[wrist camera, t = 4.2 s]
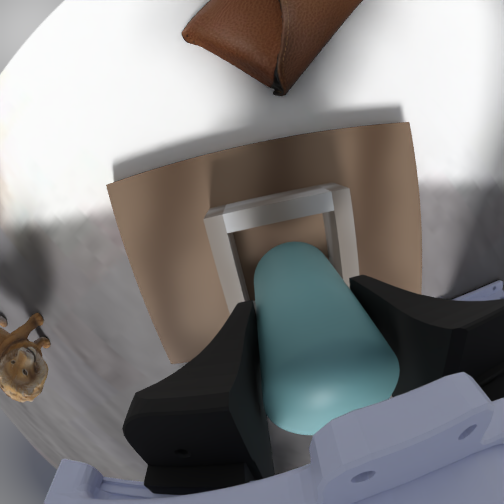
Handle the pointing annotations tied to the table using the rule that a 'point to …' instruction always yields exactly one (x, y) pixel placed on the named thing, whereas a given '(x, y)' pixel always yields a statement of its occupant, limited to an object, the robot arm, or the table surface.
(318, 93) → the table surface
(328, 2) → the sunglasses case
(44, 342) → the lion figurine
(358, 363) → the peg
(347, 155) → the socket board
